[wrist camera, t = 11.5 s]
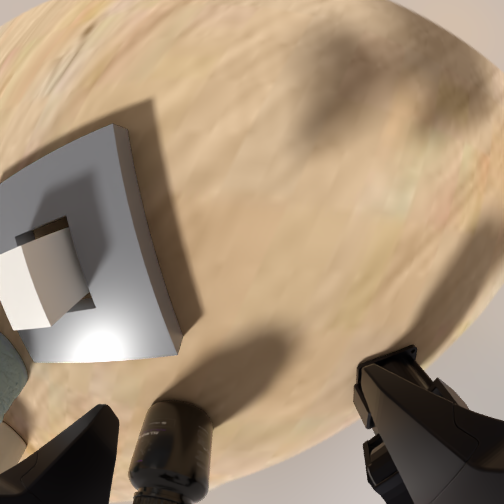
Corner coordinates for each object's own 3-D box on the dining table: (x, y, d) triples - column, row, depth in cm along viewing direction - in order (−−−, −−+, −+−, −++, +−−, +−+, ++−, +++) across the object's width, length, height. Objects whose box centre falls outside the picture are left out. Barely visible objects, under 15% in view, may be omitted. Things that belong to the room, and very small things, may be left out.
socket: (127, 129, 16) (112, 123, 14) (183, 336, 20) (177, 355, 18) (-6, 197, 16) (-23, 200, 14) (45, 349, 20) (34, 362, 18)
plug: (79, 223, 18) (20, 245, 11) (98, 284, 19) (50, 326, 12) (42, 236, 18) (-14, 260, 11) (60, 292, 19) (13, 330, 12)
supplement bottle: (149, 389, 22) (116, 495, 10) (220, 407, 23) (216, 518, 11) (145, 427, 23) (121, 516, 12) (205, 443, 24) (199, 534, 13)
